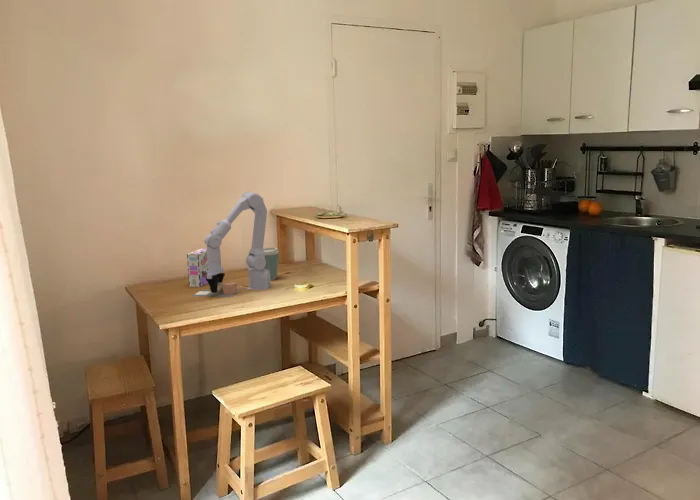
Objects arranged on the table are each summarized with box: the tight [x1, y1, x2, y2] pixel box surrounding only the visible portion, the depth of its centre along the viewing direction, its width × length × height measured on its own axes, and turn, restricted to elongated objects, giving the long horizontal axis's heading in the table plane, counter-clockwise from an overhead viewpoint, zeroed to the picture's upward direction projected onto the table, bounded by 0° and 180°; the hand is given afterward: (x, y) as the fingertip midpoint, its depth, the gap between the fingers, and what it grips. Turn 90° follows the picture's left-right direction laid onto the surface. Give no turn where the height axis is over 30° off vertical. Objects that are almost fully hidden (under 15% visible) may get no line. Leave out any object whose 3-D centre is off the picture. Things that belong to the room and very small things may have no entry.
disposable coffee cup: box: [263, 246, 280, 281], centre depth 288 cm, size 11×11×15 cm
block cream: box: [208, 281, 224, 295], centre depth 262 cm, size 4×4×4 cm
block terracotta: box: [223, 281, 238, 295], centre depth 260 cm, size 4×4×4 cm
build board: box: [191, 289, 241, 298], centre depth 262 cm, size 19×11×1 cm, turn 81°
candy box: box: [186, 248, 209, 288], centre depth 280 cm, size 14×6×16 cm, turn 168°
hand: (216, 291), depth 262 cm, fingers closed on block cream, 4 cm apart
